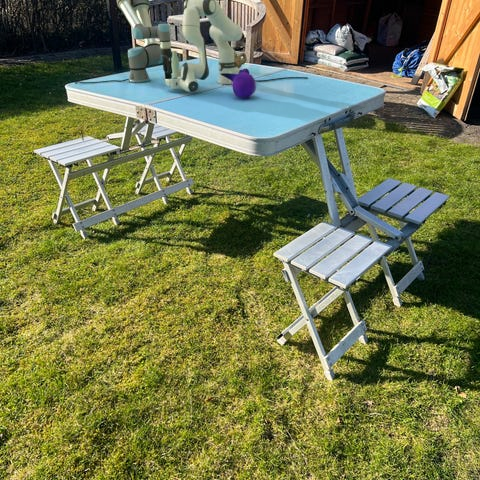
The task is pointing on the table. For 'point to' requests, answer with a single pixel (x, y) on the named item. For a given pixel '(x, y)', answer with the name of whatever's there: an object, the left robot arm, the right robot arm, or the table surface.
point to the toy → (242, 83)
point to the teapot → (237, 59)
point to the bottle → (175, 65)
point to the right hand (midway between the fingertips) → (176, 79)
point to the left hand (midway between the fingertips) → (168, 82)
